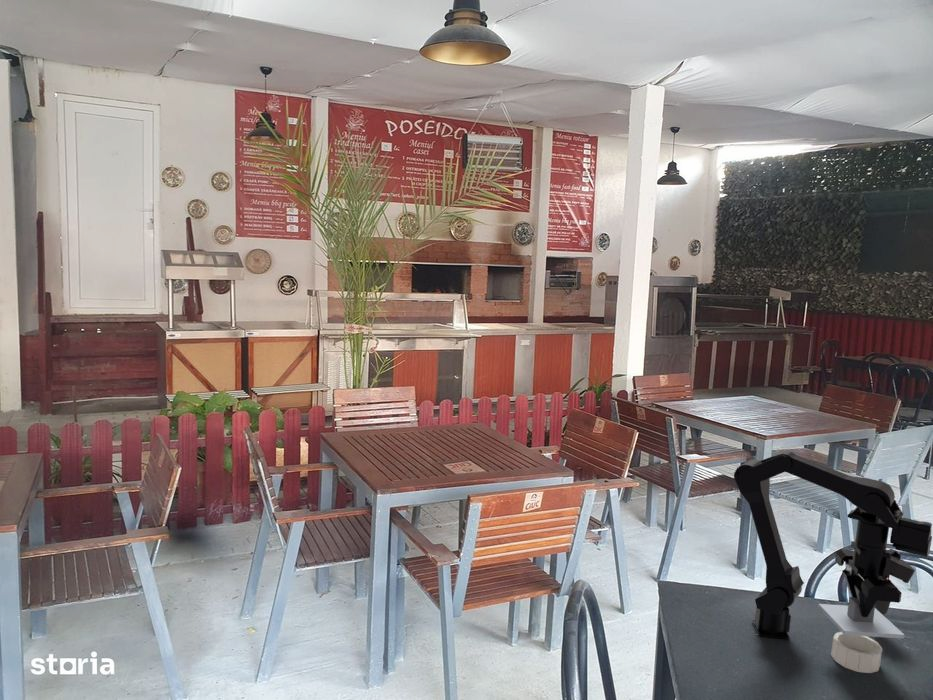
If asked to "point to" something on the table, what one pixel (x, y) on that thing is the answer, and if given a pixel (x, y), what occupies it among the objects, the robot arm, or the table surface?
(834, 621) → the lid
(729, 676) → the table surface
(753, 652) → the table surface
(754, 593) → the table surface
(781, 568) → the robot arm
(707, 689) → the table surface
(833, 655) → the bowl
